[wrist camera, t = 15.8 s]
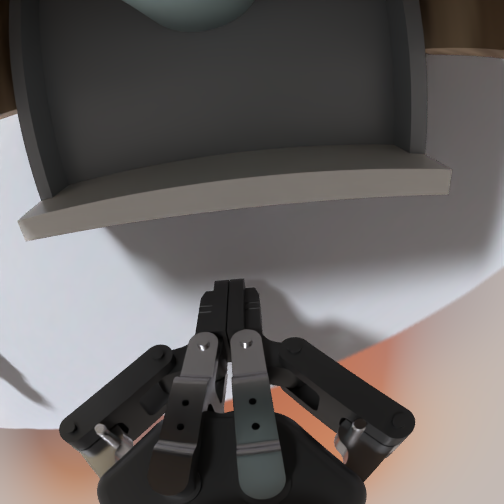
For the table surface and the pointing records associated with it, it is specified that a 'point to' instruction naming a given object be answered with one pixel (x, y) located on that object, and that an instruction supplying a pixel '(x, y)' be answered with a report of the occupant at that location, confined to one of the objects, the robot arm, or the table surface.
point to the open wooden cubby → (433, 20)
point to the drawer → (217, 109)
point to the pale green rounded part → (191, 12)
